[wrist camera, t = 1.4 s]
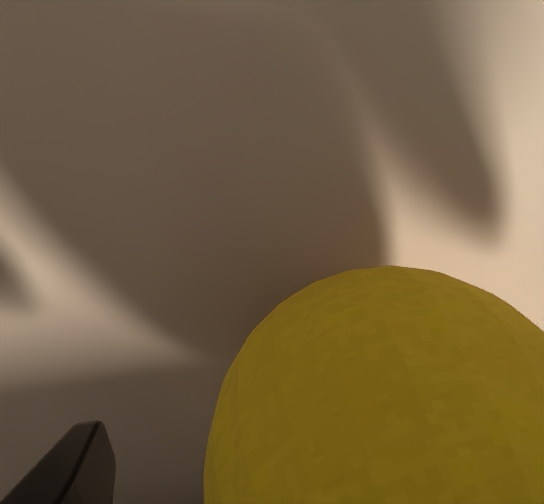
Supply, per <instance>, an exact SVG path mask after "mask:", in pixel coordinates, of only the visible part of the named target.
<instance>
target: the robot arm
mask: <svg viewBox="0 0 544 504" xmlns="http://www.w3.org/2000/svg"><path fill="white" fill-rule="evenodd" d="M115 471H116V463H115V456H114V453H113V450H112V447H111V444H110V440H109V437H108V434H107V431H106V428H105V425H104V424H103V423H102V422H101V421H99V420H96V421H89V422H81V423H77V424H76V425H74V426H73V427H72V428H71V429H70V430H69V431H68V432H67V433H66V434H65V435H64V436H63V437H62V438H61V439H60V440H59V441H58V442H57V443H56V444H55V446H54V447H53V448H52V449H51V450H50V451H49V452H48V453H47V454H46V455H45V456H44V457H43V458H42V459H41V460H40V461H39V462H38V463H37V464H36V465H35V466H34V467H33V468H32V469H31V470H30V471H29V472H28V474H27V475H26V476H25V477H24V478H23V479H22V480H21V481H20V482H19V483H18V484H17V485H16V486H15V487H14V488H13V489H12V490H11V491H10V492H9V493H8V494H7V495H6V496H5V497H4V498H3V499H2V500H1V502H0V504H112V503H113V492H114V482H115Z"/></svg>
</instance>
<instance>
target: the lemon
mask: <svg viewBox="0 0 544 504" xmlns="http://www.w3.org/2000/svg"><path fill="white" fill-rule="evenodd" d="M203 483H204V504H544V331H542V330H541V329H540V328H539V327H537V326H536V325H535V324H534V323H532V322H531V321H530V320H529V319H528V318H526V317H525V316H524V315H523V314H521V313H520V312H519V311H517V310H516V309H515V308H514V307H512V306H511V305H510V304H508V303H507V302H505V301H503V300H502V299H500V298H498V297H497V296H495V295H494V294H492V293H489V292H487V291H485V290H483V289H480V288H478V287H476V286H473V285H471V284H468V283H466V282H463V281H461V280H458V279H456V278H453V277H451V276H448V275H446V274H443V273H440V272H435V271H431V270H425V269H416V268H408V267H400V266H392V265H391V266H381V267H372V268H362V269H353V270H347V271H344V272H341V273H338V274H335V275H332V276H329V277H326V278H323V279H321V280H318V281H315V282H313V283H311V284H310V285H308V286H306V287H305V288H303V289H302V290H300V291H298V292H297V293H295V294H293V295H292V296H290V297H289V298H287V299H285V300H284V301H282V302H281V303H280V304H278V305H277V306H276V307H275V308H274V309H273V310H272V311H271V312H270V313H269V314H268V315H267V316H266V317H265V318H264V319H263V320H262V321H261V322H260V323H259V324H258V325H257V326H256V327H255V328H254V329H253V330H252V332H251V333H250V335H249V336H248V337H247V339H246V341H245V342H244V344H243V346H242V347H241V349H240V351H239V352H238V354H237V356H236V357H235V359H234V361H233V363H232V364H231V366H230V368H229V369H228V371H227V374H226V376H225V378H224V380H223V383H222V385H221V389H220V393H219V396H218V400H217V404H216V408H215V412H214V416H213V420H212V424H211V428H210V432H209V436H208V442H207V448H206V454H205V464H204V478H203Z"/></svg>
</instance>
